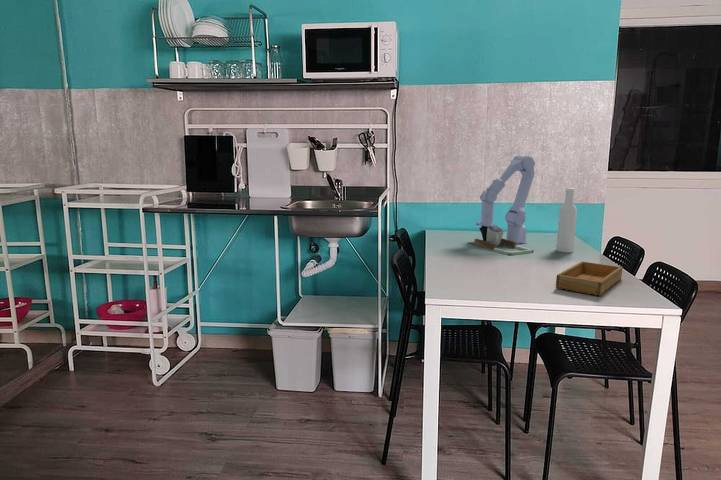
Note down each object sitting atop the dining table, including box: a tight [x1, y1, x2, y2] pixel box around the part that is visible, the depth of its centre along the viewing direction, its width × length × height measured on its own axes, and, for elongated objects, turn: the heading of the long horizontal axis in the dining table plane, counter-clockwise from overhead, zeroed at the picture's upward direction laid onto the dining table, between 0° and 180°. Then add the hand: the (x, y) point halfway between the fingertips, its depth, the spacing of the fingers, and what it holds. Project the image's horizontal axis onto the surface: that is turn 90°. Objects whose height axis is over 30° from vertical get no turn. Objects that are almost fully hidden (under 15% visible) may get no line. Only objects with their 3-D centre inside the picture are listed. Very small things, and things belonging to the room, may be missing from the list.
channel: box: [473, 238, 517, 251], centre depth 264 cm, size 14×14×3 cm
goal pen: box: [493, 245, 534, 256], centre depth 253 cm, size 14×11×1 cm
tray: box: [555, 261, 624, 297], centre depth 198 cm, size 31×15×6 cm, turn 142°
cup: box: [486, 226, 505, 247], centre depth 264 cm, size 11×8×8 cm
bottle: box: [555, 187, 578, 254], centre depth 253 cm, size 8×8×30 cm
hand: (485, 241), depth 270 cm, fingers closed
